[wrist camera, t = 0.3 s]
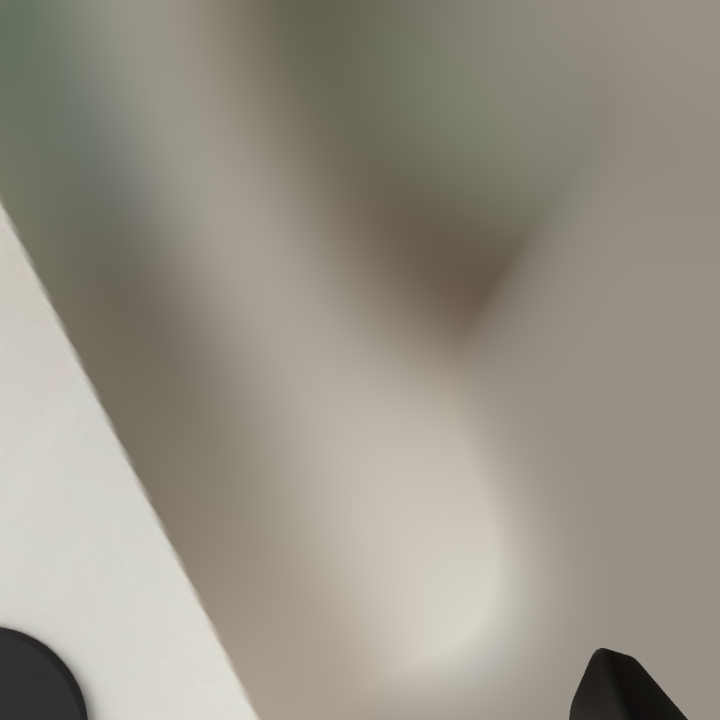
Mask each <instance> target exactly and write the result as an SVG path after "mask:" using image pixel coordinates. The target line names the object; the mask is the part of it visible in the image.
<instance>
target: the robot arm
mask: <svg viewBox="0 0 720 720" xmlns="http://www.w3.org/2000/svg"><path fill="white" fill-rule="evenodd" d="M569 720H688V719H687V718H686V717H685V716H684V715H683V713H682V712H681V711H680V710H679V709H678V708H677V706H676V705H675V704H674V703H673V702H672V701H671V700H670V698H669V697H668V696H667V695H666V694H665V692H664V691H663V690H662V689H661V688H660V687H659V685H658V684H657V683H656V682H655V681H654V680H653V678H652V677H651V676H650V675H649V674H648V673H647V671H646V670H645V669H644V668H643V667H642V666H641V664H640V663H639V662H638V661H637V660H636V659H634V658H633V657H631V656H628V655H625V654H622V653H619V652H615V651H612V650H609V649H605V648H600V649H597V650H596V651H595V652H594V654H593V655H592V657H591V659H590V661H589V664H588V666H587V668H586V670H585V673H584V675H583V677H582V680H581V682H580V684H579V687H578V689H577V691H576V694H575V696H574V698H573V701H572V705H571V710H570V718H569Z"/></svg>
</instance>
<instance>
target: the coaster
mask: <svg viewBox="0 0 720 720" xmlns="http://www.w3.org/2000/svg"><path fill="white" fill-rule="evenodd" d="M0 720H88V719H87V713H86V708H85V704H84V701H83V697H82V695H81V692H80V690H79V688H78V685H77V684H76V682H75V680H74V678H73V676H72V675H71V673H70V672H69V671H68V669H67V668H66V666H65V665H64V664H63V663H62V662H61V661H60V660H59V658H58V657H57V656H56V655H55V654H54V653H52V652H51V651H50V650H49V649H48V648H47V647H45V646H44V645H42V644H41V643H39V642H38V641H36V640H35V639H33V638H31V637H29V636H27V635H25V634H22V633H19V632H16V631H13V630H9V629H5V628H0Z"/></svg>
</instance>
